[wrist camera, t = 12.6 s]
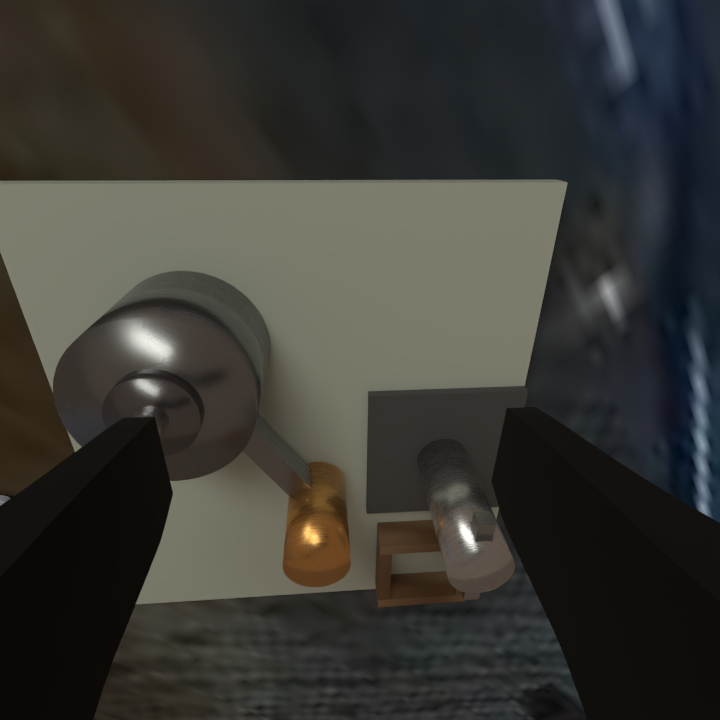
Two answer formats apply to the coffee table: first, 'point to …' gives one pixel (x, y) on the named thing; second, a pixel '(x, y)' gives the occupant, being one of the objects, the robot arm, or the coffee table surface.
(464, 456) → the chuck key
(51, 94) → the coffee table surface
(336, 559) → the lever
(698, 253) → the coffee table surface
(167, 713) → the coffee table surface
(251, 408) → the cylinder
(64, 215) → the board
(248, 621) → the coffee table surface
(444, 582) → the frame
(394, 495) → the rubber pad
